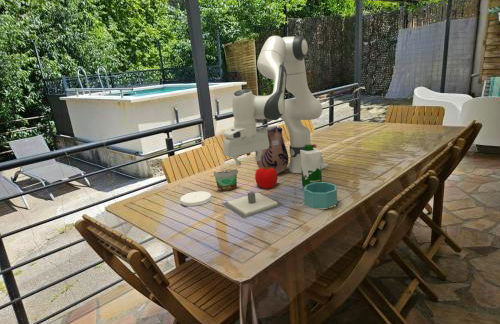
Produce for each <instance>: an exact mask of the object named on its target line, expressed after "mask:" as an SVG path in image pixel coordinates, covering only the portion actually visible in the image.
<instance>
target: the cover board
mask: <svg viewBox="0 0 500 324" xmlns="http://www.w3.org/2000/svg"><path fill="white" fill-rule="evenodd" d="M260 193H261V192H260ZM260 193H259V192H254V191H250V192H248V193H247V195H244V196H242V197H238V198H235V199H232V200H228V201H226V202H227V204H228V205H230V206H232V207H233V208H235V209H236V210H238V211H239V212H241V213H243V214H244V215H249V214H252V213H255V212H258V211H261V210H264V209H267V208H270V207H273V206H276V205H278V202H279V201H278V202H276V201H277V200H276V201H274V200H275V199H274V200H272V199H273V198H272V199H270V198H271V197H270V198H268V197H269V196H268V197H266V196H267V195H266V196H264V195H265V194H264V195H262V194H263V193H262V194H260Z"/></svg>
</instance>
